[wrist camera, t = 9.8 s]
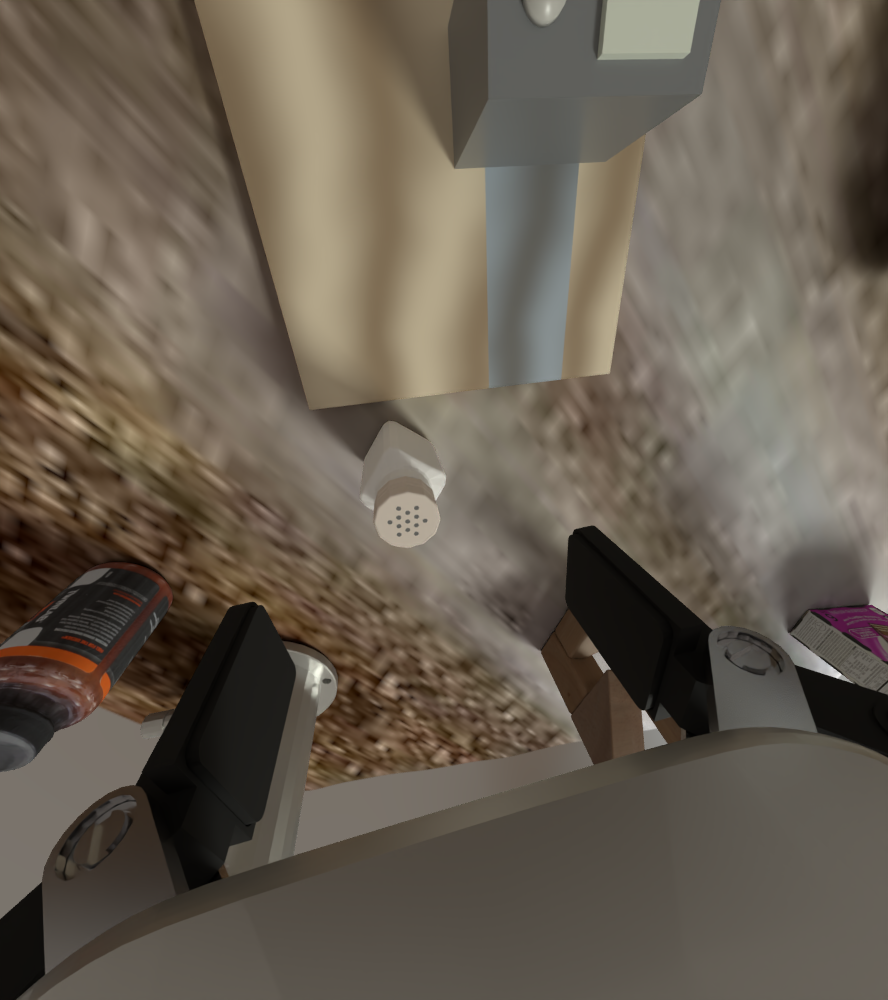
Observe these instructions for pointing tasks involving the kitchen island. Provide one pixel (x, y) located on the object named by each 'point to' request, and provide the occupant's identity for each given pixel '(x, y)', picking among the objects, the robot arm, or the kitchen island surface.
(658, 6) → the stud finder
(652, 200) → the kitchen island surface
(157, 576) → the supplement bottle
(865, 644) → the candy bar box
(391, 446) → the pepper shaker
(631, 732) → the wooden letter
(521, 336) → the plywood panel
